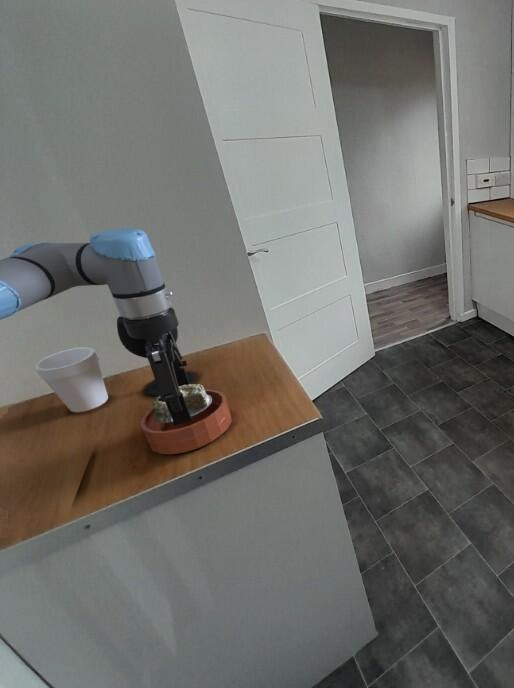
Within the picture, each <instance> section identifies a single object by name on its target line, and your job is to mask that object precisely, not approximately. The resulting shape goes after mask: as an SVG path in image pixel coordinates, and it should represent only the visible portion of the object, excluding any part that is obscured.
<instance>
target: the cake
mask: <svg viewBox="0 0 514 688" xmlns="http://www.w3.org/2000/svg"><path fill="white" fill-rule="evenodd" d="M179 390H180V392H182V394H183V397H184V399H185V402H186V405H187V407H188V410H189V413H190V415H191V417H192V416H194V415H196V414H198V413H199V412H201V411H203V410H204V409H206V408H207V407H208V406H209V405H210V404H211V402H212V397H211V396H209V395H207V394H206V392H205V390H206V388H205V387H204V385H202V384H200V383H198V384H196V383H192V384H189V385H182V386H179ZM158 398H161V397H160V395H159V396H158V397H154V399H153V401H152V402H151V406H152V408H153V413H154V416H153V417H154V418H153V419H154V420H156V421H157V422H161V423H169V422H173V420H172V417H171V415H170V412H169V410H168V407H167V405H166V402H162V401H159V400H158Z"/></svg>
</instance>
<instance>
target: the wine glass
mask: <svg viewBox="0 0 514 688" xmlns="http://www.w3.org/2000/svg"><path fill="white" fill-rule="evenodd" d="M123 319H124V317H121V316H120V315H119V316H118V317H117V319H116V329H117V336H118V339H119V341H120V342H121V344H122V346H123V347H124V348H125V349H126V350H127V351H128V352H130V353H131V354H133V355H134V356H137V357H140V358H145V359H148V358H147V357H146V353H147V352H146V350H145V344H147V343H146V339H141V338H140V339H136V338H132V337H130V336H129V335H128V333H127V330H126V328H125V325H124V323H123ZM178 331H179V329H178V327H177V328H176V329H174V330H173V331H171V333H172V335H173V338H174V340H175V342H176V343H177V341H178V336H179V332H178ZM185 372H186V375H187V377H188V380H189V383H190V384H194V382H195V380H196V375H195V373H194V372H191V371H185ZM143 391H144V394H145V395H146V396H148V397H152V398H153V397H154V398H158V397H159V395H160V394H159V391H158V388H157V384H156V381H155V379H153V380H152V381H150V382H149V383H148V384H147V385H146V386H145V388H144V390H143Z"/></svg>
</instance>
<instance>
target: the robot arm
mask: <svg viewBox="0 0 514 688" xmlns="http://www.w3.org/2000/svg"><path fill="white" fill-rule="evenodd" d="M106 285H107V287H108V289H109V291H110V293H111V297H112V299H113V302H114V304H115V306H116V309H117V312H118V315H119V317H120V316H121V317H124V319H123V323H124V325H125V328H126V330H127V333H128V335H129V336H130V337H132V338H136V339H140V338H141V339H146V343H147V344H145V350H146V352H147V353H146V357H147V358H146V359H147V361H148V363H149V365H150V368H151V372H152V375H153V378H154V380H155V381H156V384H157V388H158V391H159V394H160V397H161V398H158V397H157V398H158V400H159V401H162V402H166V405H167V407H168V410H169V412H170V415H171V417H172V420H173V422H174V425H179V424H182V423H185V422H189V421H192V418H191V415H190V413H189V410H188V407H187V405H186V402H185V399H184V397H183V394H182V392H180V390H179V386H182V385H189V384H190V383H189V380H188V377H187V375H186V372H187V371H186V370H185V367H187V366H188V362H187V360H183V356H182V354H181V352H180V350H179V347H178V345H177V341H176V342H175V340H174V338H173V335H172V333H171V331H173V330H174V329H176V328H177V329H178V326H179V320H178V317H177V314H176V312H175V311H176V310H175V309H174V308H173V307H172V306H173V303H172V302H171V298H170V297H172V296H173V291H171V290H168V291H167V287H166V284H165V281H164V279H163V276H162V272H161V269H160V267H159V263H158V260H157V256H156V252H155V249H153V246H152V244H151V242H150V240H149V236H148V235H147V233H146V232H145V231H143V230H142V229H139V228H132V227H124V228H113V229H112V228H111V229H106V230H101V231H96V232H94V233H92V234H91V235H90V236H89V242H49V241H48V242H47V241H46V242H40V243H32V244H31V243H30V244H24V245H21V246H18V247H16V248H15V249H14V251H13V252H12V253H11V254H10V255H9V257H5V258H3V259H0V321H1V320H5V319H7V318H9V317H11V316H13V315H14V314H15V313H18V312H20V311H23V310H24V309H26V308H29V307H31V306H33V305H35V304H38V303H40V302H42V301H44V300H47V299H50V298H52V297H55V296H57V295H58V294H61V293H63V292H65V291H68V290H70V289H72V288H75V287H85V286H86V287H87V286H106Z"/></svg>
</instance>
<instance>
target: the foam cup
mask: <svg viewBox="0 0 514 688" xmlns="http://www.w3.org/2000/svg"><path fill="white" fill-rule="evenodd" d="M99 360H100V359H99V357H98V355H97V353H96V350H95V349H94V348H93V347H88V346H83V347H73V348H69V349H65V350H61V351H57V352H55V353H52V354H49V355H48V356H45V357H44V358H41V359H39V360H38V361H37V362H36V363H35V364H34V368H35V371H36V372H37V374H38V376H39V378H40V379H43V381H44V382H45V383H46V384H47V386H48V387H49V388H50V389H51V390H52V391H53V393H55V395H56V396H57V397H58V398H59V400H61V401H62V403H63V404H64V405H65V406H66V407H67V408H68V410H69V411H70V412H73V413H83V412H87V411H91V410H93V409H96V408H98V407H101V406H102V405H104V404H105V403H106V402H107V401H108V399H109V395H108V392H107V388H106V385H105V381H104V378H103V374H102V370H101V367H100V366H101V365H100V363H99Z"/></svg>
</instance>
